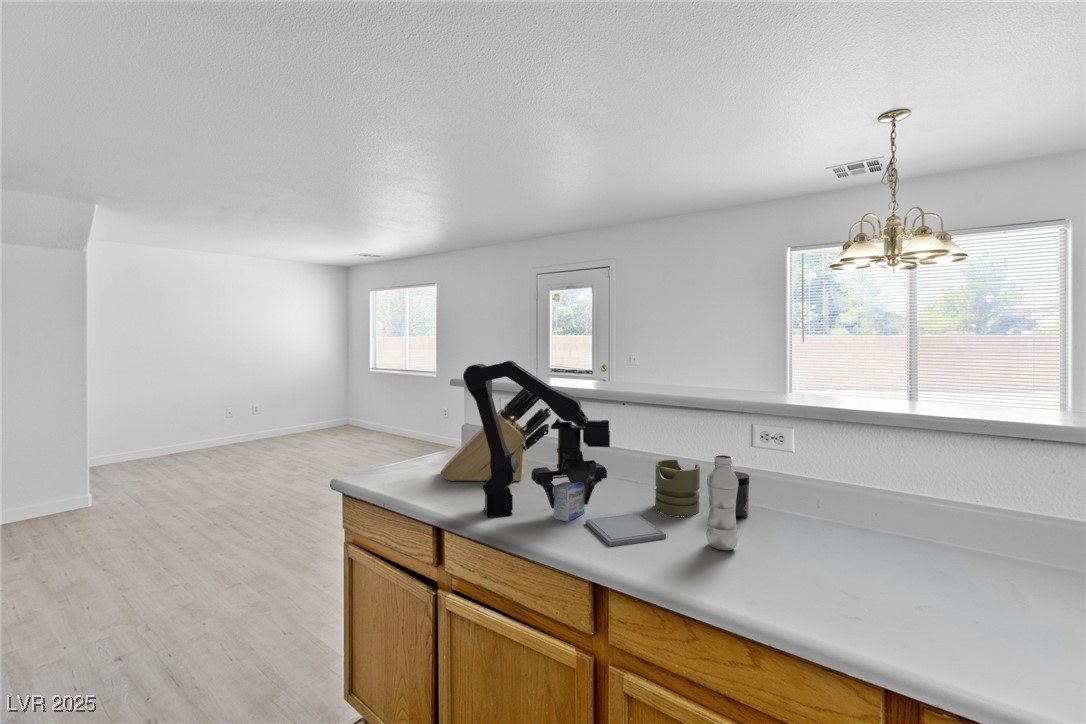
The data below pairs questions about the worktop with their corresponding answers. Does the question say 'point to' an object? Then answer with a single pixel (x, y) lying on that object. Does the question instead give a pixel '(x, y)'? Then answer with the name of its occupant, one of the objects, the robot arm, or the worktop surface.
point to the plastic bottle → (722, 505)
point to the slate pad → (624, 529)
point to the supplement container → (742, 495)
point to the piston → (676, 489)
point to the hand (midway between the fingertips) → (569, 506)
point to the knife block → (476, 451)
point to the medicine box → (569, 500)
